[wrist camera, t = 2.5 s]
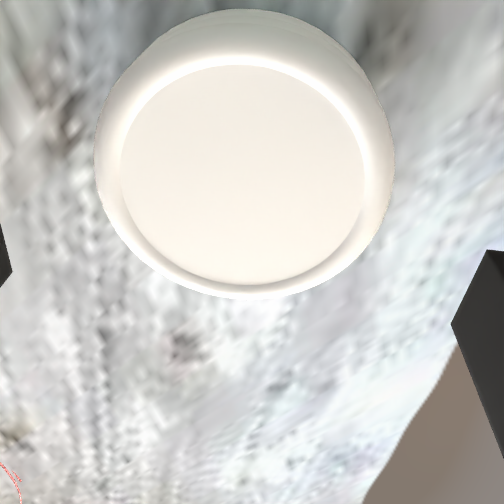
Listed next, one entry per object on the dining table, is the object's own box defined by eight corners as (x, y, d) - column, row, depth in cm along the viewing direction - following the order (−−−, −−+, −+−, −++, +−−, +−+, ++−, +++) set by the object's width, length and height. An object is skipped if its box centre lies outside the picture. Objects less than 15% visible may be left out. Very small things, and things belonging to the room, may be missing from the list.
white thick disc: (411, 17, 15) (440, 43, 12) (352, 262, 21) (362, 317, 18) (103, -7, 15) (61, 12, 12) (131, 242, 21) (107, 294, 18)
